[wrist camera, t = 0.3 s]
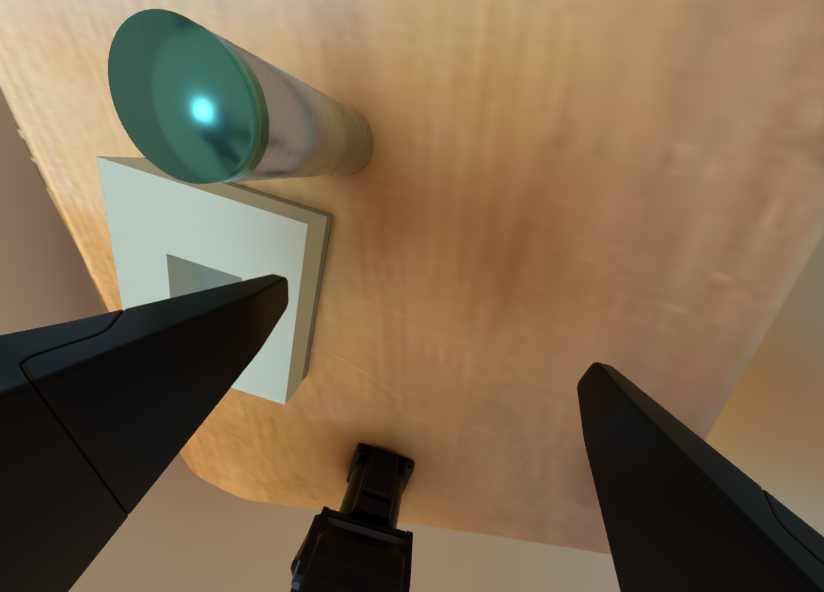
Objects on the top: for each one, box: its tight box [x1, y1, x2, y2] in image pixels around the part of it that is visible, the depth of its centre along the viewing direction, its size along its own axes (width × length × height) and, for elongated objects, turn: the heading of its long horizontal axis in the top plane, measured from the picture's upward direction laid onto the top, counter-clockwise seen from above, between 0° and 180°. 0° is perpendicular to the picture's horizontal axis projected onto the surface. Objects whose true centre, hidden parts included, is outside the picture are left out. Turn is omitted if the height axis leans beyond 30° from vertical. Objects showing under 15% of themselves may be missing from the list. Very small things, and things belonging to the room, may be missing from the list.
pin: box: [108, 9, 373, 184], centre depth 14 cm, size 4×4×13 cm
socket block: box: [96, 156, 332, 405], centre depth 23 cm, size 16×14×4 cm
